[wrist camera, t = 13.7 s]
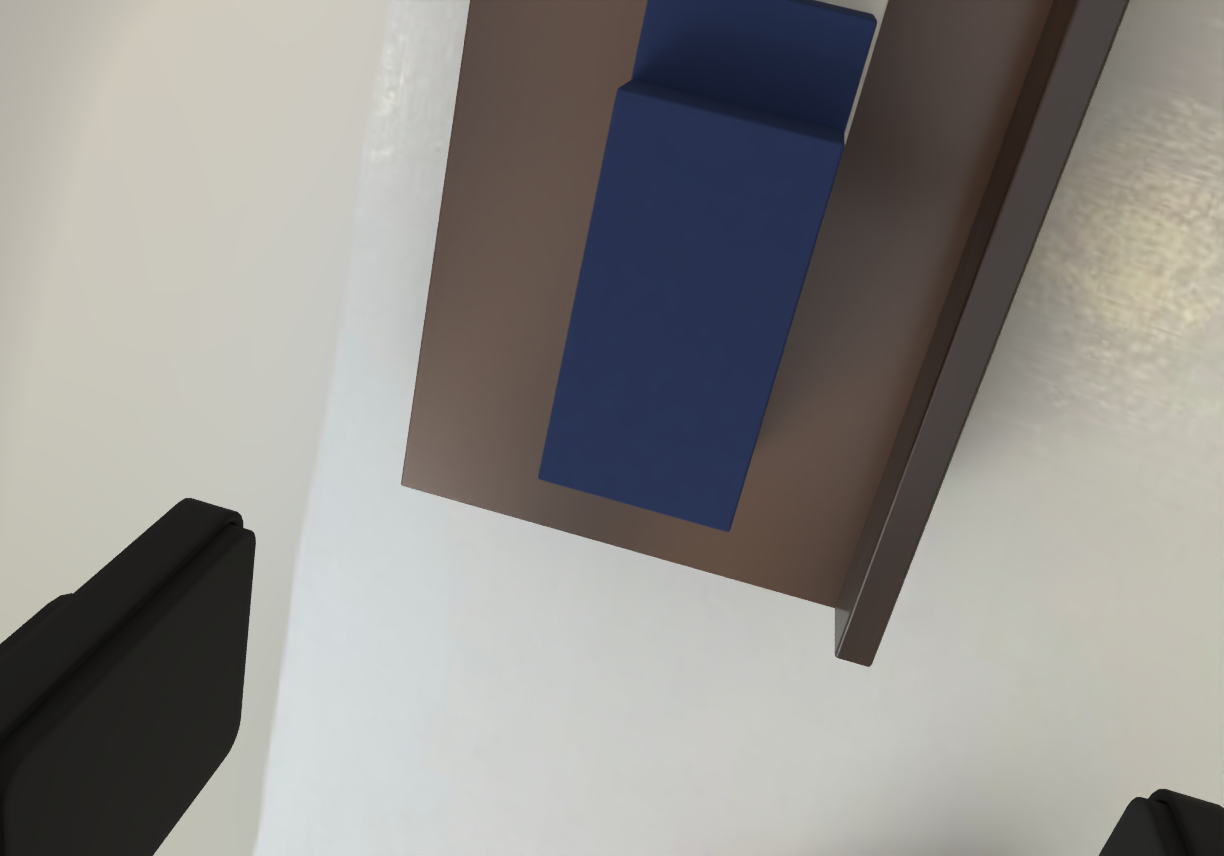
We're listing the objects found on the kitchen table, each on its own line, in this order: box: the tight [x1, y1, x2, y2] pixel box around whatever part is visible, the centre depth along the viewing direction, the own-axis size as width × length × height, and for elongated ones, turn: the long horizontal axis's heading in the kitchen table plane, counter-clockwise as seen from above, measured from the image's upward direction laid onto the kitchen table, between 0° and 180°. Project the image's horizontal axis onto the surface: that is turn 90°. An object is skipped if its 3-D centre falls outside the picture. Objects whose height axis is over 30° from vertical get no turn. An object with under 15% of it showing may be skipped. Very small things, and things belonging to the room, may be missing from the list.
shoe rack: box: [401, 0, 1130, 667], centre depth 29 cm, size 14×20×8 cm
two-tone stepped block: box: [538, 0, 888, 532], centre depth 25 cm, size 5×12×5 cm, turn 168°
